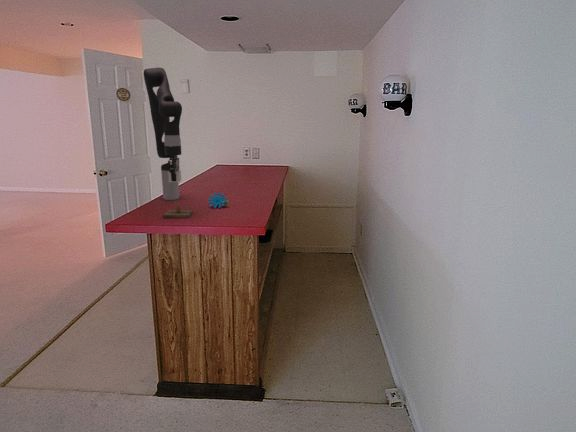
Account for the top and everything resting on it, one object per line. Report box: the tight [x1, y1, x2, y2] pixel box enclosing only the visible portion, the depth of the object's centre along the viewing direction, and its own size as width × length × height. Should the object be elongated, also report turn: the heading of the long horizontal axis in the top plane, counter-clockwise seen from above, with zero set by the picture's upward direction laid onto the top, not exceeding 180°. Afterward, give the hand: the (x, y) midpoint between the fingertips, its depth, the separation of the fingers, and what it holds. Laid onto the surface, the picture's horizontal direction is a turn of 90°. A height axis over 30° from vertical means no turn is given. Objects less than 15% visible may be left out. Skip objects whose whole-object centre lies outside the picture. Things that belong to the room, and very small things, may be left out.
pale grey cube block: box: [168, 169, 182, 183], centre depth 198 cm, size 5×5×5 cm
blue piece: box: [207, 192, 230, 210], centre depth 221 cm, size 11×6×10 cm
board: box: [162, 205, 193, 219], centre depth 202 cm, size 12×12×5 cm
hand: (175, 180), depth 198 cm, fingers closed on pale grey cube block, 5 cm apart
